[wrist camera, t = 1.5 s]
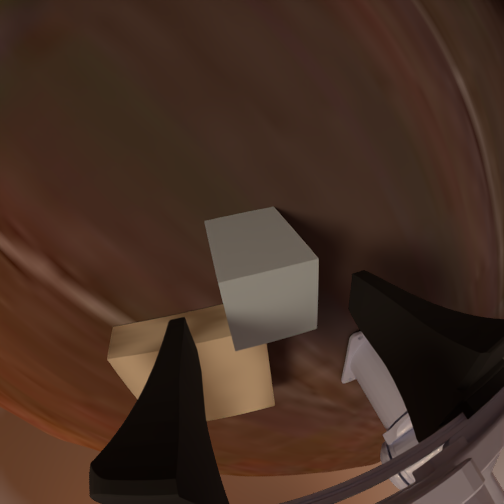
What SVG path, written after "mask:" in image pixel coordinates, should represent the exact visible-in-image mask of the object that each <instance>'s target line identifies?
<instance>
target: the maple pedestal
mask: <svg viewBox="0 0 504 504" xmlns="http://www.w3.org/2000/svg"><path fill="white" fill-rule="evenodd" d="M181 317H185V319H186V322H187V324H188V327H189V330H190V332H191V335H192V337H193V340H194V342H195V345H196V347H197V350H198V355H199V360H200V366H201V371H202V381H203V393H204V404H205V414H206V421H210V420H215V419H221V418H225V417H230V416H235V415H239V414H244V413H248V412H252V411H256V410H260V409H264V408H267V407H271V406H275V403H274V395H273V388H272V380H271V373H270V365H269V358H268V351H267V343H266V344H262V345H258V346H254V347H251V348H247V349H243V350H238V351H235V348H234V344H233V340H232V337H231V333H230V329H229V325H228V321H227V317H226V313H225V309H224V305H223V304H222V305H217V306H213V307H208V308H204V309H199V310H195V311H190V312H186V313H181V314H176V315H172V316H167V317H162V318H157V319H152V320H147V321H142V322H137V323H131V324H126V325H121V326H115V327H113V329H112V335H111V340H110V346H109V351H108V357H107V360H108V361H109V362H110V364H111V365H112V367H113V368H114V369H115V371H116V372H117V373H118V375H119V376H120V378H121V379H122V380H123V381H124V383H125V384H126V385H127V387H128V388H129V389H130V391H131V392H132V393H133V394H134V396H135V397H136V398H137V399H138V398H139V396H140V394H141V392H142V390H143V388H144V386H145V384H146V382H147V380H148V377H149V375H150V373H151V370H152V368H153V366H154V363H155V361H156V358H157V355H158V353H159V350H160V347H161V344H162V341H163V338H164V335H165V332H166V329H167V325H168V322H169V321H170V320H172V319H176V318H181Z"/></svg>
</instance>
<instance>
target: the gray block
mask: <svg viewBox="0 0 504 504" xmlns="http://www.w3.org/2000/svg"><path fill="white" fill-rule="evenodd" d="M204 222H205V226H206V231H207V236H208V240H209V245H210V249H211V254H212V258H213V263H214V267H215V271H216V276H217V280H218V284H219V288H220V293H221V297H222V301H223V305H224V309H225V313H226V317H227V321H228V325H229V329H230V333H231V337H232V340H233V344H234V348H235V351H238V350H243V349H247V348H251V347H254V346H258V345H262V344H266V343H270V342H273V341H277V340H280V339H284V338H287V337H291V336H294V335H298V334H301V333H304V332H308V331H311V330H314V329H317V312H318V274H319V258H318V257H317V256H316V255H315V254H314V252H313V251H312V250H311V249H310V248H309V247H308V245H307V244H306V243H305V242H304V241H303V240H302V238H301V237H300V236H299V235H298V234H297V233H296V231H295V230H294V229H293V228H292V227H291V226H290V225H289V223H288V222H287V221H286V220H285V219H284V218H283V217H282V215H281V214H280V213H279V212H278V211H277V210H276V209H275V208H274V207H270V208H265V209H260V210H255V211H250V212H245V213H240V214H235V215H230V216H226V217H221V218H216V219H212V220H207V221H204Z"/></svg>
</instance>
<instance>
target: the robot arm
mask: <svg viewBox="0 0 504 504" xmlns="http://www.w3.org/2000/svg"><path fill="white" fill-rule="evenodd" d="M348 309H349V311H350V313H351V315H352V317H353V319H354V320H355V322H356V324H357V326H358V327H359V329H360V330H361V331H359V332H357V333H354V334H352V335H351V336H350V339H349V344H348V349H347V355H346V360H345V365H344V369H343V374H342V379H341V381H342V383H347V382H350V381H352V380H355V379H357V381H358V382H359V384H360V386H361V387H362V389H363V391H364V392H365V394H366V396H367V398H368V399H369V401H370V403H371V404H372V406H373V408H374V410H375V411H376V413H377V415H378V416H379V418H380V420H381V422H382V423H383V425H384V427H385V428H386V430H387V432H386V433H384V434H383V437H384V438H385V440H386V441H385V442H384V443H383V444H382V448H381V453H380V458H381V462H382V465H380V466H378V467H376V468H374V469H372V470H370V471H368V472H365V473H363V474H361V475H359V476H357V477H355V478H352V479H350V480H348V481H345V482H343V483H340V484H338V485H335V486H333V487H330V488H327V489H325V490H322V491H319V492H317V493H313V494H311V495H307V496H304V497H301V498H298V499H294V500H291V501H287V502H284V503H280V504H334V503H337V502H339V501H342V500H344V499H347V498H349V497H352V496H354V495H356V494H358V493H361V492H363V491H365V490H367V489H369V488H371V487H373V486H375V485H377V484H379V483H381V482H383V481H385V480H387V479H390V480H391V482H392V483H393V484H394V485H395V486H396V487H397V488H399V489H400V491H398V492H396V493H395V494H393V495H391V496H389V497H387V498H385V499H383V500H381V501H379V502H377V503H375V504H504V491H503V489H502V487H501V486H500V484H499V482H498V481H497V479H496V477H495V476H494V474H493V473H492V470H493V468H494V466H495V463H496V461H497V459H498V457H499V454H500V452H501V450H502V449H503V448H504V359H503V357H504V319H493V318H485V317H479V316H473V315H469V314H464V313H461V312H457V311H453V310H450V309H447V308H444V307H441V306H439V305H436V304H433V303H431V302H428V301H426V300H424V299H421V298H419V297H417V296H415V295H413V294H410V293H408V292H406V291H404V290H402V289H400V288H398V287H396V286H395V285H393V284H391V283H389V282H387V281H385V280H383V279H381V278H379V277H377V276H375V275H373V274H371V273H369V272H367V271H365V270H363V271H360V272H357V273H353V274H352V283H351V292H350V300H349V308H348ZM89 485H90V486H89V489H90V497H91V498H92V499H93V500H94V501H96V502H99V503H101V504H229V502H228V499H227V496H226V493H225V490H224V487H223V484H222V481H221V477H220V474H219V471H218V467H217V464H216V460H215V456H214V453H213V449H212V445H211V440H210V436H209V432H208V427H207V421H206V414H205V404H204V393H203V381H202V371H201V366H200V360H199V355H198V350H197V347H196V345H195V342H194V340H193V337H192V335H191V332H190V330H189V327H188V324H187V322H186V319H185V317H181V318H176V319H172V320H170V321H169V322H168V325H167V329H166V332H165V335H164V338H163V341H162V344H161V347H160V350H159V353H158V355H157V358H156V361H155V363H154V366H153V368H152V370H151V373H150V375H149V377H148V380H147V382H146V384H145V386H144V388H143V390H142V392H141V394H140V396H139V398H138V400H137V402H136V403H135V405H134V407H133V409H132V410H131V412H130V414H129V415H128V417H127V418H126V420H125V421H124V423H123V424H122V426H121V427H120V429H119V430H118V431H117V433H116V434H115V435H114V437H113V438H112V439H111V441H110V442H109V443H108V444H107V446H106V447H105V448H104V449H103V450H102V451H101V453H100V454H99V455H98V456H97V457H96V458H95V459H94V460H93V461H92V462H91V464H90V472H89Z"/></svg>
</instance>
